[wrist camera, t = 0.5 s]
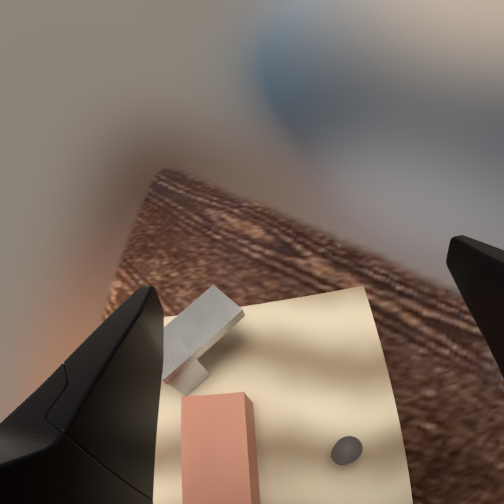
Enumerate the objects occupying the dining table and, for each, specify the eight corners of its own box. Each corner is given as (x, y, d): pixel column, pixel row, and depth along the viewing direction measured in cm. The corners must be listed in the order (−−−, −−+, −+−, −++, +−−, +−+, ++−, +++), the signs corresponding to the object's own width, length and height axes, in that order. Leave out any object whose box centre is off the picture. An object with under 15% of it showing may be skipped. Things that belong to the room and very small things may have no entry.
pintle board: (414, 577, 9) (433, 593, 6) (154, 591, 11) (123, 605, 8) (361, 293, 25) (367, 260, 22) (155, 325, 27) (132, 298, 24)
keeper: (254, 338, 23) (242, 309, 20) (187, 399, 21) (161, 380, 18) (228, 316, 25) (213, 284, 22) (164, 372, 23) (137, 349, 19)
